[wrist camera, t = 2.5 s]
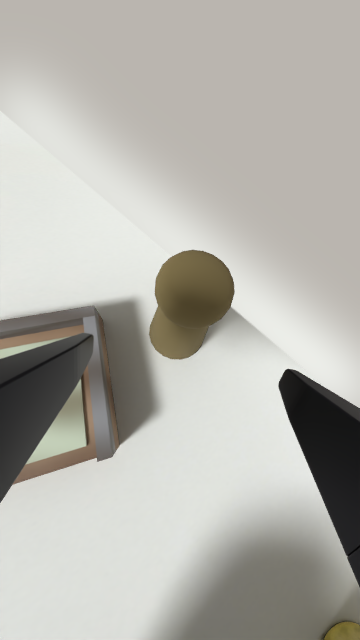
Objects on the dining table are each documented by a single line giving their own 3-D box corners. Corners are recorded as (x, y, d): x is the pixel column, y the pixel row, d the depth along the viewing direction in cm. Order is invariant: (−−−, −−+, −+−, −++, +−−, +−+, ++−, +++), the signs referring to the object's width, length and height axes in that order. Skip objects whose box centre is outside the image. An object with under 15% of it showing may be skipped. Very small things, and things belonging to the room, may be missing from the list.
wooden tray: (119, 445, 17) (112, 456, 14) (-64, 503, 14) (-126, 534, 11) (102, 319, 21) (93, 305, 18) (-45, 345, 18) (-87, 334, 15)
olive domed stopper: (137, 329, 21) (125, 267, 11) (178, 297, 23) (199, 220, 13) (175, 371, 20) (201, 346, 10) (214, 334, 22) (268, 281, 12)
